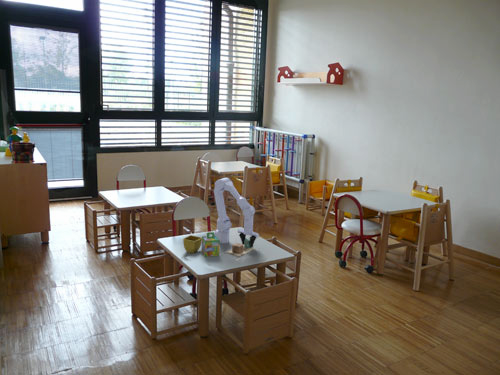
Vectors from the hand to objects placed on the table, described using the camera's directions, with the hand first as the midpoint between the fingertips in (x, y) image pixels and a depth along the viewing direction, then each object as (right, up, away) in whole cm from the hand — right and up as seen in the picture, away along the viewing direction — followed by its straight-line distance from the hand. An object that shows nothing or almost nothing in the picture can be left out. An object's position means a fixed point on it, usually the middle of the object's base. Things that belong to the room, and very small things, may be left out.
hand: (247, 245), depth 275 cm
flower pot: (-35, -3, -8) cm, 36 cm away
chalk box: (-23, -5, -13) cm, 27 cm away
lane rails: (-5, -4, -8) cm, 11 cm away
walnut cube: (-6, -3, -10) cm, 12 cm away
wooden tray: (-4, -4, -6) cm, 8 cm away
